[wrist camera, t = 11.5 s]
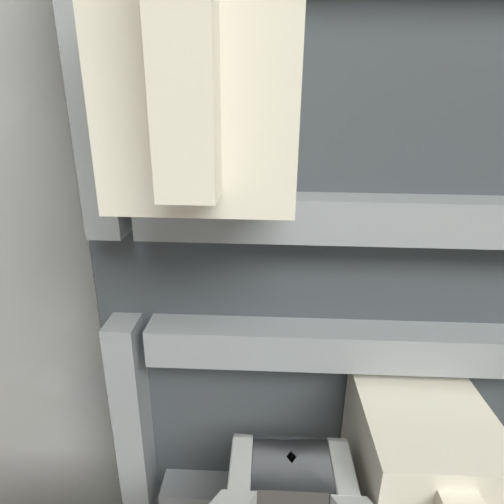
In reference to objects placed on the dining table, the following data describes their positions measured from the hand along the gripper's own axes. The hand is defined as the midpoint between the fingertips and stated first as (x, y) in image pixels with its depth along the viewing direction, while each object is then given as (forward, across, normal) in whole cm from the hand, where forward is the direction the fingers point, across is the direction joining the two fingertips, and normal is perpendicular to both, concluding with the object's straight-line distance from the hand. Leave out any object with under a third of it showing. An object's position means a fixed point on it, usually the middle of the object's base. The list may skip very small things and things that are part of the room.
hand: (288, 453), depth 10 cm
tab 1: (+1, +2, -9) cm, 9 cm away
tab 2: (+1, -3, 0) cm, 3 cm away
